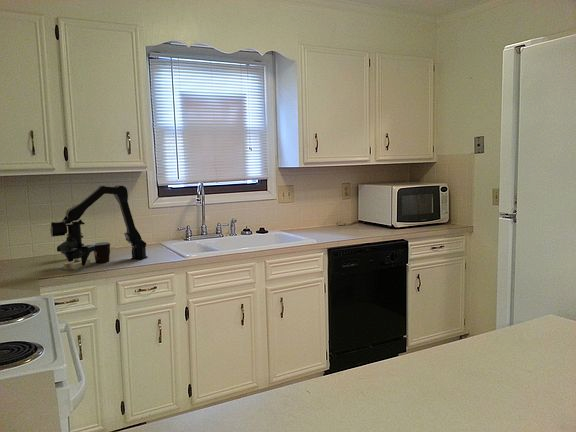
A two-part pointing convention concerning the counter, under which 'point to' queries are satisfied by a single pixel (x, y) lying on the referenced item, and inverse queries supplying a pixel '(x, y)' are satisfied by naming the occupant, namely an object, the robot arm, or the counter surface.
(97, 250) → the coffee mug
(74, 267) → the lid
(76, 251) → the drinking cup
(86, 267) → the mat
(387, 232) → the counter surface
